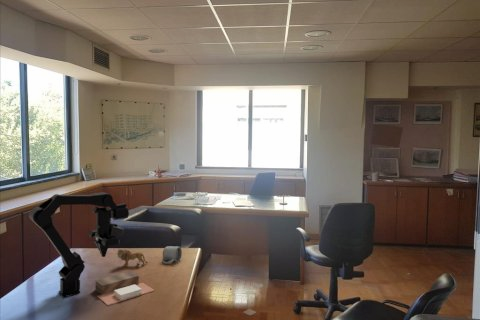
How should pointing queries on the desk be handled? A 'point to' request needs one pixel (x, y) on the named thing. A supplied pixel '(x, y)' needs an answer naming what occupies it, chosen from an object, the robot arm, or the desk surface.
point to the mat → (112, 299)
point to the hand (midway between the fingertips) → (103, 256)
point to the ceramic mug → (171, 254)
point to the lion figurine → (130, 256)
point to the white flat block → (127, 292)
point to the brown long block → (116, 282)
